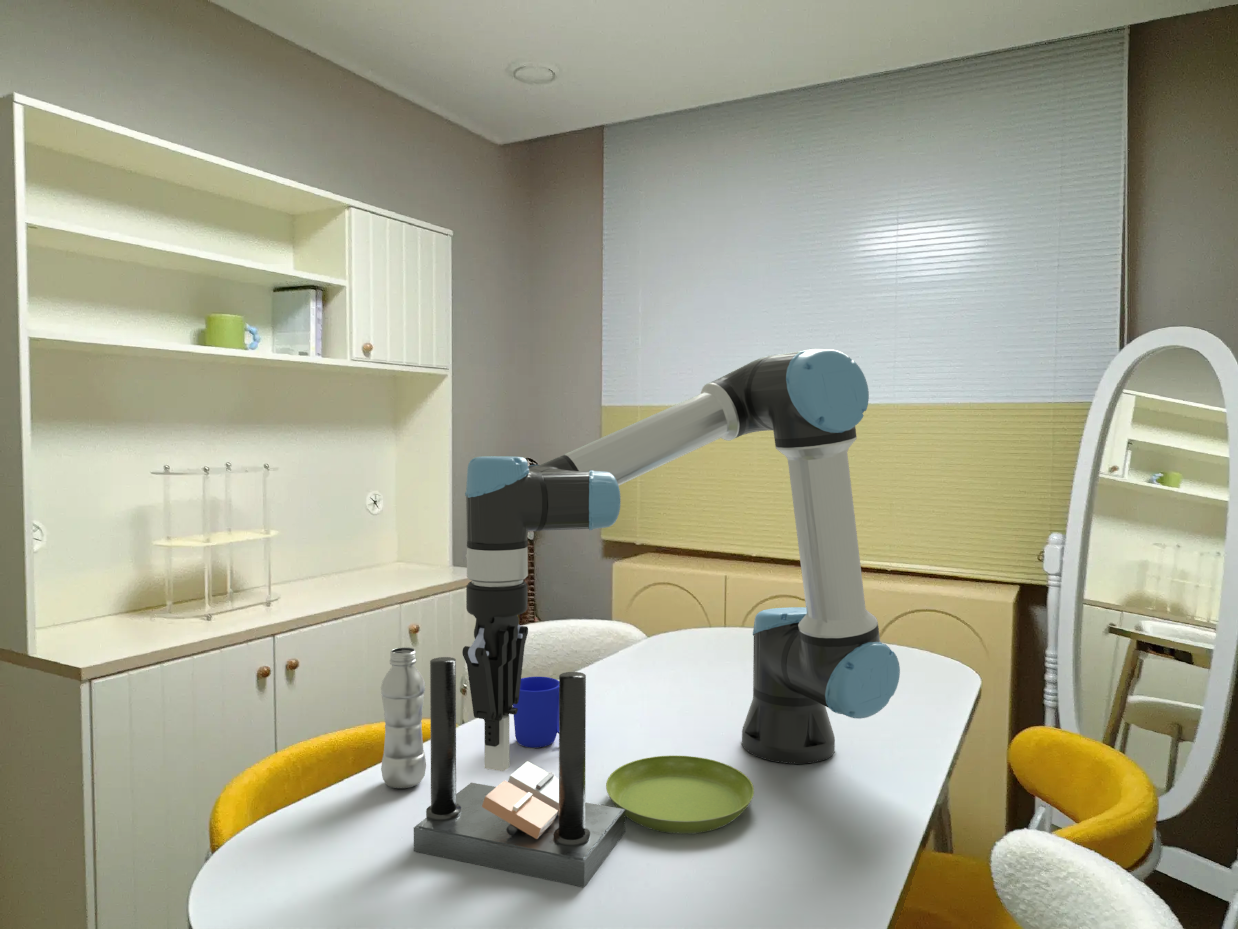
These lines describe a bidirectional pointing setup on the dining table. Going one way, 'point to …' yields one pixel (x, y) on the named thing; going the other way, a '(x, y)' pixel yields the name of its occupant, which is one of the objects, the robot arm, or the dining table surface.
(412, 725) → the plastic bottle
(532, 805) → the paddle
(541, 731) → the mug
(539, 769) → the paddle
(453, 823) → the twin post stand
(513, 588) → the robot arm
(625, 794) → the saucer
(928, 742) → the dining table surface
